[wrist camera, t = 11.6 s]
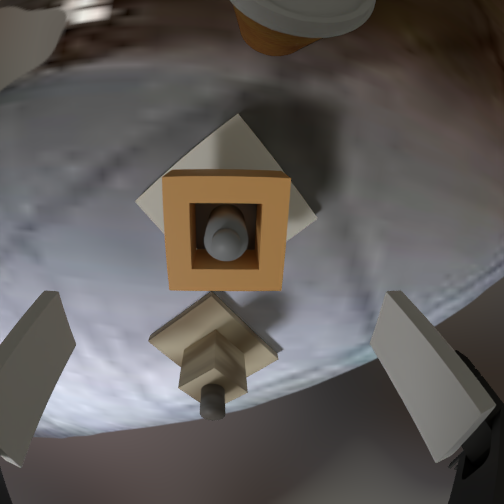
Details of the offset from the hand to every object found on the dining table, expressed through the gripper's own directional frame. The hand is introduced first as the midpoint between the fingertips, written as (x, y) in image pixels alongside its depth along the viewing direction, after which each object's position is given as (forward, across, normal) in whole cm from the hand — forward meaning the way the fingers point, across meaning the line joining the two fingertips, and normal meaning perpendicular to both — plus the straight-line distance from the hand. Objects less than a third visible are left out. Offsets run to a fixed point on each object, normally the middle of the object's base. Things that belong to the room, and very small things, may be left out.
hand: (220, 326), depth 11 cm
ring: (+13, 0, 0) cm, 13 cm away
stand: (+18, -1, -17) cm, 24 cm away
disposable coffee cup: (+18, +4, +18) cm, 25 cm away
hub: (+18, 0, 0) cm, 18 cm away
